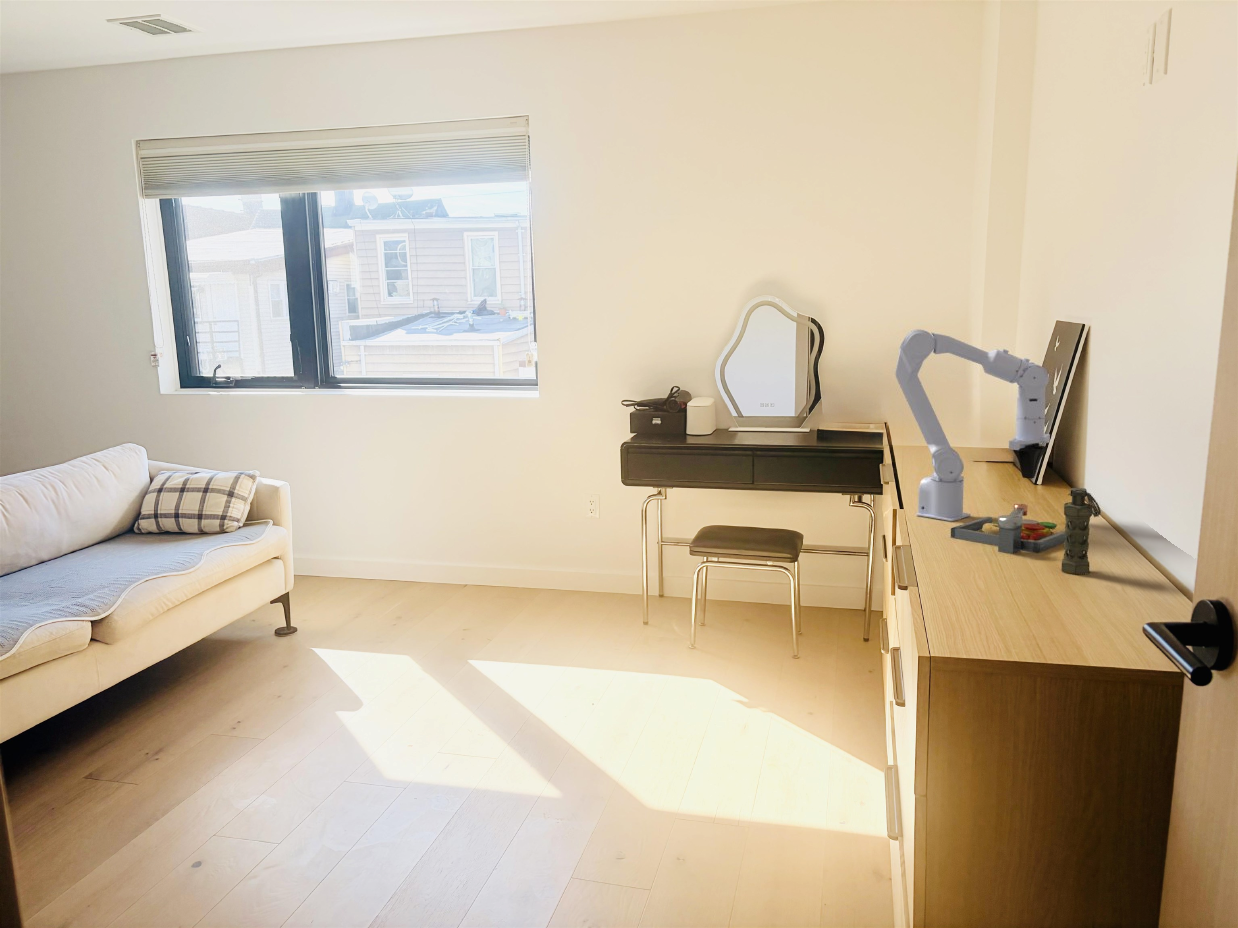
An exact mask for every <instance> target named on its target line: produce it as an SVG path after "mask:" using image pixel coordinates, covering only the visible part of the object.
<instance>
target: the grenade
mask: <svg viewBox="0 0 1238 928" xmlns="http://www.w3.org/2000/svg"><path fill="white" fill-rule="evenodd" d="M1067 496H1071V502H1065V503H1064V505H1063V515H1064V517H1065V518H1064V519H1065V526H1064V531H1065V536H1066V537H1065V541H1064V543H1063V547H1064V553H1063V558H1062V559H1061V571H1062V572H1064V573H1065V574H1066V573H1067V574H1070V575H1086V574H1090V561H1089V555H1088V552H1089V549H1090V547H1089V546H1090V545H1089V538H1090V537H1089V536H1090V527H1089V526H1090V520H1091V517H1092V516H1093V517H1094V518H1098V517H1099V516H1100V515H1101V513H1102V512H1101V511H1102V510H1101V508H1100V505H1099V503H1098V502H1097V501H1096V499H1095V498H1094V497H1093V495H1092V494H1091V493H1089V492H1088V490H1087V488H1082V487H1081V488H1080V487H1072V488H1070V492H1069V493H1068V494H1067ZM1086 499H1087V501H1088V502H1086ZM1068 537H1069V539H1068Z"/></svg>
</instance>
